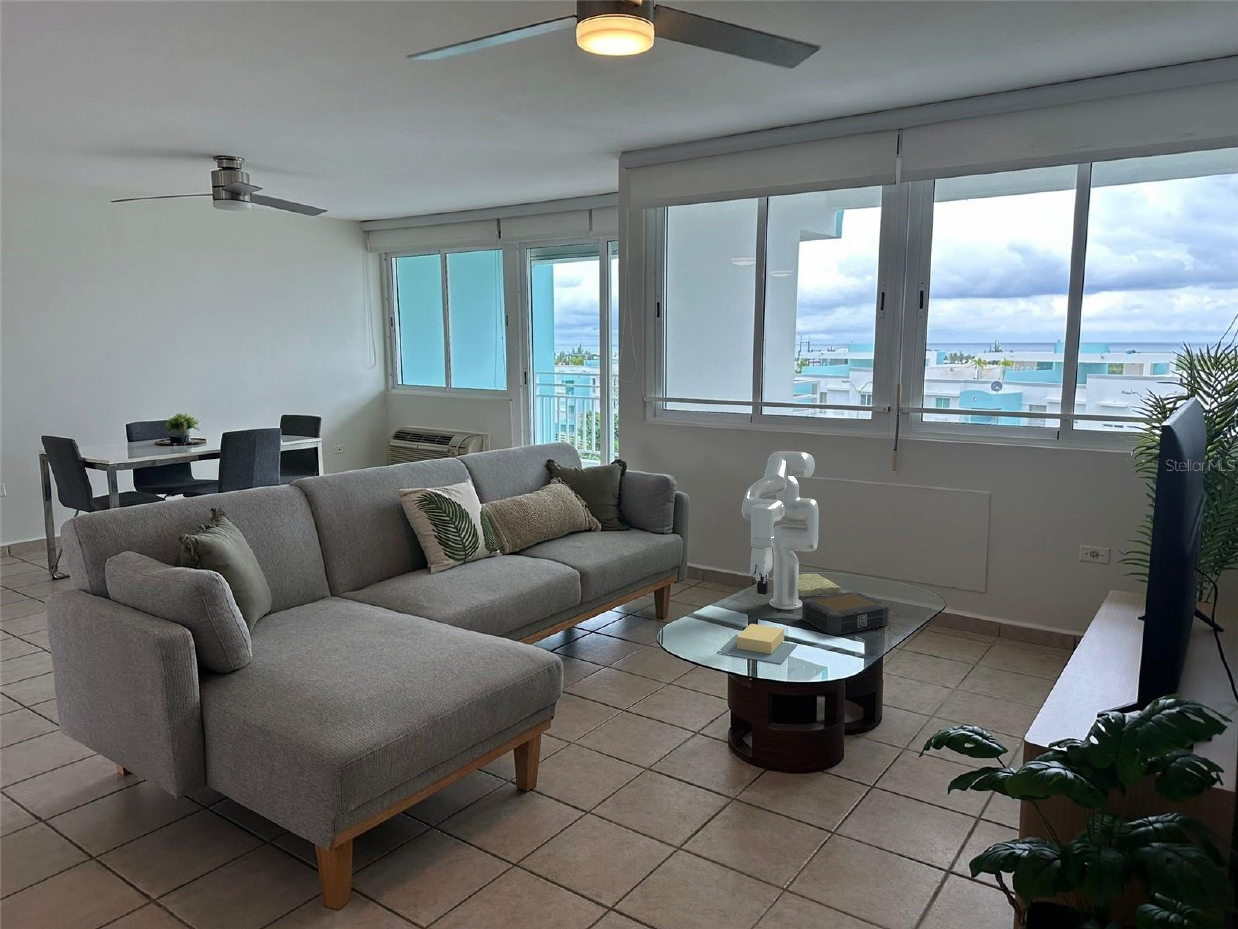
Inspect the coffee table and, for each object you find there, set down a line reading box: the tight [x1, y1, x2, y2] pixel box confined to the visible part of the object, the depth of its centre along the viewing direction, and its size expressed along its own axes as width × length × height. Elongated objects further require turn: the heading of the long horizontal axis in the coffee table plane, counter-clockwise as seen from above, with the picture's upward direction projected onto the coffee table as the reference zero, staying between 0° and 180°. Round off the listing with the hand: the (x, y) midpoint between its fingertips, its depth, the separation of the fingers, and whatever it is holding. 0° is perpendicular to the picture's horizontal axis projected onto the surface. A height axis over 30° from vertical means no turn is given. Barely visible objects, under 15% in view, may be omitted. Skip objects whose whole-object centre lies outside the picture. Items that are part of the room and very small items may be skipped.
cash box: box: [801, 591, 890, 636], centre depth 303 cm, size 25×20×8 cm
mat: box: [716, 634, 798, 665], centre depth 279 cm, size 18×22×1 cm
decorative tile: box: [798, 573, 841, 597], centre depth 345 cm, size 19×20×4 cm
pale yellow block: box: [737, 623, 785, 654], centre depth 282 cm, size 4×12×14 cm
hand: (762, 593), depth 281 cm, fingers closed
